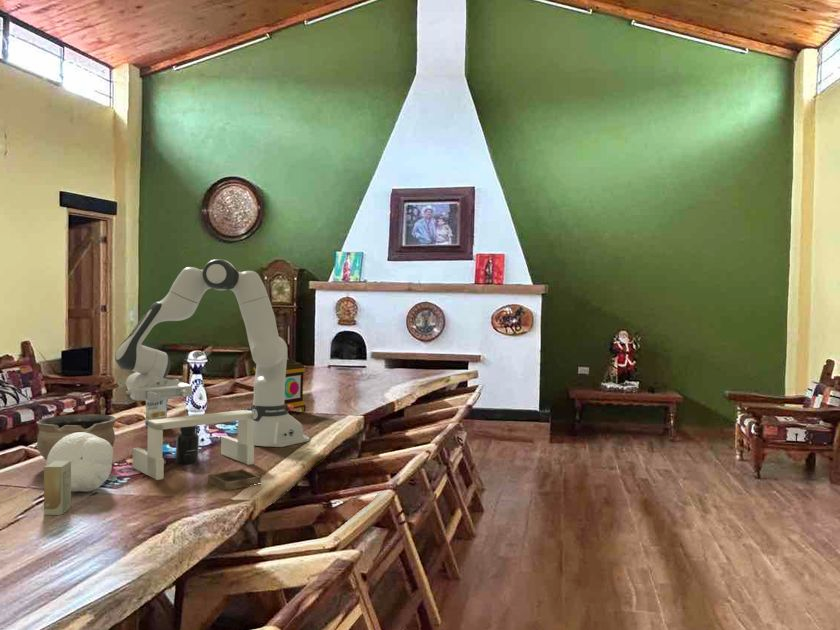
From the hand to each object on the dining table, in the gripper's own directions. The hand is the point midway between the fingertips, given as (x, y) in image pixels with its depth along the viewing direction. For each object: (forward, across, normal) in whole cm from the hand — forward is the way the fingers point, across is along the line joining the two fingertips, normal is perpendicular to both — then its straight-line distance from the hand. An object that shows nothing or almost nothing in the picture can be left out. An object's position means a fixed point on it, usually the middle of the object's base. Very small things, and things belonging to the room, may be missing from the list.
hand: (171, 395), depth 240 cm
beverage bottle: (-48, +17, +21) cm, 55 cm away
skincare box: (+39, -47, +20) cm, 64 cm away
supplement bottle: (+13, 0, +20) cm, 24 cm away
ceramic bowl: (-3, -29, +21) cm, 35 cm away
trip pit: (+43, 0, +19) cm, 47 cm away
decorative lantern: (-47, +73, +20) cm, 89 cm away
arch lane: (+18, 0, +20) cm, 26 cm away
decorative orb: (+24, -36, +20) cm, 48 cm away
